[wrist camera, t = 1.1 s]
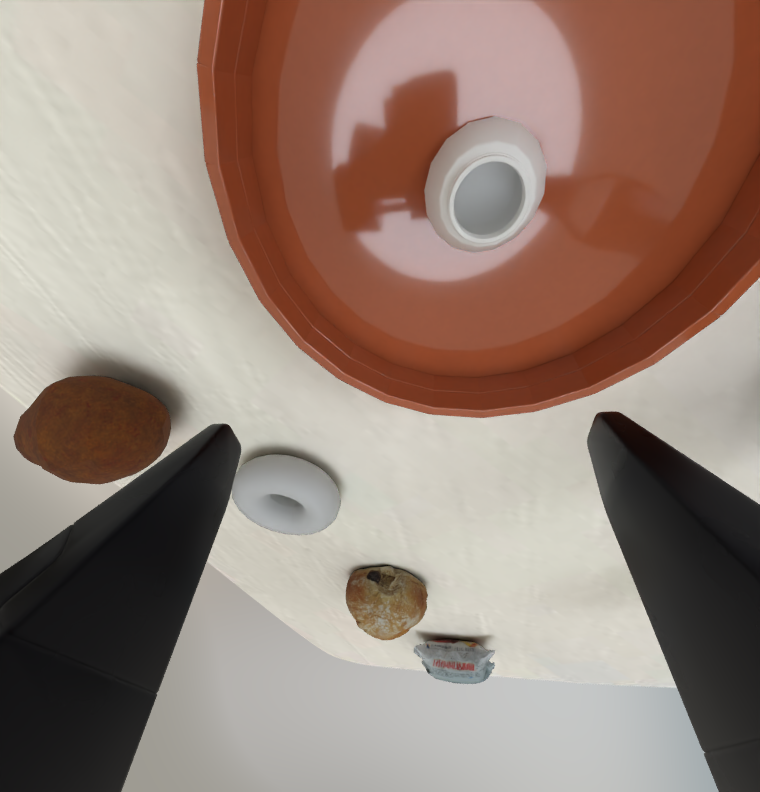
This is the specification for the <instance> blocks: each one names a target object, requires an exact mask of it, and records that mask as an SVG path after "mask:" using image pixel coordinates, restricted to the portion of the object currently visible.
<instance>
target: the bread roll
mask: <svg viewBox="0 0 760 792" xmlns="http://www.w3.org/2000/svg"><path fill="white" fill-rule="evenodd" d="M427 596H428V594H427V591H426V588H425V586H424V585H423V583H422V582H420V581H419V579H417V578H416V577H414V576H413V575H412V574H410V573H408V572H406V571H404V570H401V569H395V568H392V566H384V567H370V568H366V569H359V570H356V571H355V572H353V574H352V575H351V576H350V578H349V580H348V583H347V587H346V603H347V606H348V609H349V611H350V613H351V614H352V616H353V617H354V618H355V620H356V622H357V625H358V627H359V628H361V629H363V630H364V631H365V632H366V633H367V634H369V635H371V636H372V637H374V638H378V639H381V640H392V639H395V638H397V637H400V636H402V635H404V634H405V633H407V632H408V631H409V629H410V628H411V627H413V626H415V625H416V624H418V623H419V622H420V620H421V619H422V618H423V616H424V615H425V614H424V613H425V611H426V609H427V602H426V600H427Z"/></svg>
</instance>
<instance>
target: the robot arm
mask: <svg viewBox="0 0 760 792" xmlns="http://www.w3.org/2000/svg"><path fill="white" fill-rule="evenodd" d="M587 444H588V449H589V453H590V457H591V461H592V464H593V468H594V472H595V475H596V479H597V483H598V486H599V490H600V494H601V498H602V501H603V504H604V508H605V510H606V513H607V516H608V518H609V521H610V523H611V526H612V528H613V531H614V533H615V536H616V538H617V541H618V543H619V545H620V548H621V550H622V553H623V555H624V558H625V560H626V563H627V565H628V568H629V570H630V573H631V575H632V578H633V580H634V582H635V585H636V587H637V590H638V592H639V595H640V597H641V600H642V602H643V605H644V607H645V610H646V612H647V615H648V617H649V619H650V622H651V624H652V627H653V629H654V632H655V634H656V637H657V639H658V642H659V644H660V647H661V649H662V652H663V654H664V656H665V659H666V661H667V664H668V666H669V669H670V671H671V674H672V676H673V679H674V681H675V684H676V686H677V689H678V691H679V693H680V696H681V698H682V701H683V703H684V706H685V708H686V711H687V713H688V716H689V718H690V720H691V723H692V726H693V728H694V730H695V733H696V735H697V738H698V740H699V743H700V745H701V748H702V750H703V751H704V752H705V753H704V756H705V758H706V761H707V763H708V766H709V768H710V771H711V773H712V776H713V778H714V781H715V783H716V786H717V788H718V790H719V792H760V505H759V504H758V503H756V502H755V501H753V500H752V499H750V498H749V497H747V496H746V495H744V494H743V493H741V492H740V491H738V490H737V489H735V488H734V487H732V486H731V485H729V484H728V483H726V482H725V481H723V480H722V479H720V478H719V477H717V476H716V475H714V474H713V473H711V472H709V471H708V470H706V469H705V468H703V467H702V466H700V465H699V464H697V463H696V462H694V461H693V460H691V459H690V458H688V457H687V456H685V455H684V454H682V453H681V452H679V451H678V450H676V449H675V448H673V447H672V446H670V445H669V444H667V443H666V442H664V441H663V440H661V439H660V438H658V437H657V436H655V435H654V434H652V433H650V432H649V431H647V430H646V429H644V428H643V427H641V426H640V425H638V424H637V423H635V422H634V421H632V420H631V419H629V418H628V417H626V416H625V415H623V414H622V413H620V412H600V413H598V414H597V415H596V416H595V418H594V421H593V424H592V427H591V429H590V432H589V435H588V439H587ZM240 455H241V445H240V443H239V441H238V439H237V437H236V436H235V434H234V432H233V430H232V429H231V427H230V426H229V425H228V424H212V425H210V426H208V427H207V428H206V429H204V430H203V431H201V432H200V433H199V434H197V435H196V436H195V437H193V438H192V439H190V440H189V441H188V442H186V443H185V444H183V445H182V446H181V447H179V448H178V449H176V450H175V451H174V452H172V453H171V454H169V455H168V456H167V457H165V458H164V459H162V460H161V461H160V462H158V463H157V464H155V465H154V466H153V467H151V468H150V469H148V470H147V471H146V472H144V473H143V474H141V475H140V476H139V477H137V478H136V479H134V480H133V481H132V482H130V483H129V484H128V485H126V486H125V487H123V488H122V489H121V490H119V491H118V492H116V493H115V494H114V495H112V496H111V497H109V498H108V499H107V500H105V501H104V502H102V503H101V504H100V505H98V506H97V507H95V508H94V509H93V510H91V511H90V512H88V513H87V514H86V515H84V516H83V517H81V518H80V519H79V520H77V521H76V522H75V523H74V525H70V526H69V527H67V528H66V529H65V530H63V531H62V532H61V533H59V534H58V535H56V536H55V537H54V538H52V539H51V540H49V541H48V542H46V543H45V544H43V545H42V546H41V547H39V548H38V549H36V550H35V551H33V552H32V553H31V554H29V555H28V556H26V557H25V558H23V559H22V560H20V561H19V562H17V563H16V564H14V565H13V566H11V567H10V568H8V569H7V570H5V571H4V572H2V573H1V574H0V792H121V791H122V788H123V785H124V783H125V780H126V777H127V775H128V772H129V769H130V766H131V764H132V761H133V758H134V755H135V753H136V750H137V748H138V745H139V742H140V740H141V737H142V734H143V731H144V729H145V726H146V723H147V721H148V718H149V715H150V713H151V710H152V707H153V705H154V702H155V699H156V696H157V692H158V691H159V687H160V685H161V682H162V680H163V677H164V674H165V672H166V669H167V666H168V664H169V661H170V658H171V655H172V653H173V650H174V647H175V645H176V642H177V639H178V637H179V634H180V631H181V629H182V626H183V623H184V621H185V618H186V615H187V613H188V610H189V607H190V604H191V602H192V599H193V596H194V594H195V591H196V588H197V586H198V583H199V580H200V577H201V575H202V572H203V570H204V567H205V564H206V561H207V559H208V556H209V553H210V551H211V548H212V545H213V543H214V540H215V537H216V535H217V532H218V529H219V527H220V524H221V521H222V518H223V516H224V513H225V510H226V507H227V504H228V501H229V497H230V494H231V490H232V486H233V482H234V478H235V474H236V470H237V466H238V463H239V459H240Z"/></svg>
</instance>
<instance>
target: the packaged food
mask: <svg viewBox="0 0 760 792" xmlns="http://www.w3.org/2000/svg"><path fill="white" fill-rule="evenodd" d="M494 652H495V650H490V651H487V650H485V649H484V648H483V647H482V646H480V645H479V644H477V643H474V642H466V641H460V640H433V641H427V642H425V643H424V644H420V645H416V646H415V648H414V653H415V654H417V655H418V656H419V657H420V658H422V660H423V661H422V664H423V665H424V666H425V668H426V670H427V672H428V673H429V674H430V675H431V676H433V677H434V678H436V679H439V680H443V681H448V682H452V683H464V684H476V683H480V682H483V681H485V680H486V679H487V678H488V677H489V675H490V673H492V672H491V671H492V669H494V667H495V665H494V662H493V663H491V662H490V661H489V659H490V658H491V657H492V656H493V655H494Z"/></svg>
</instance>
